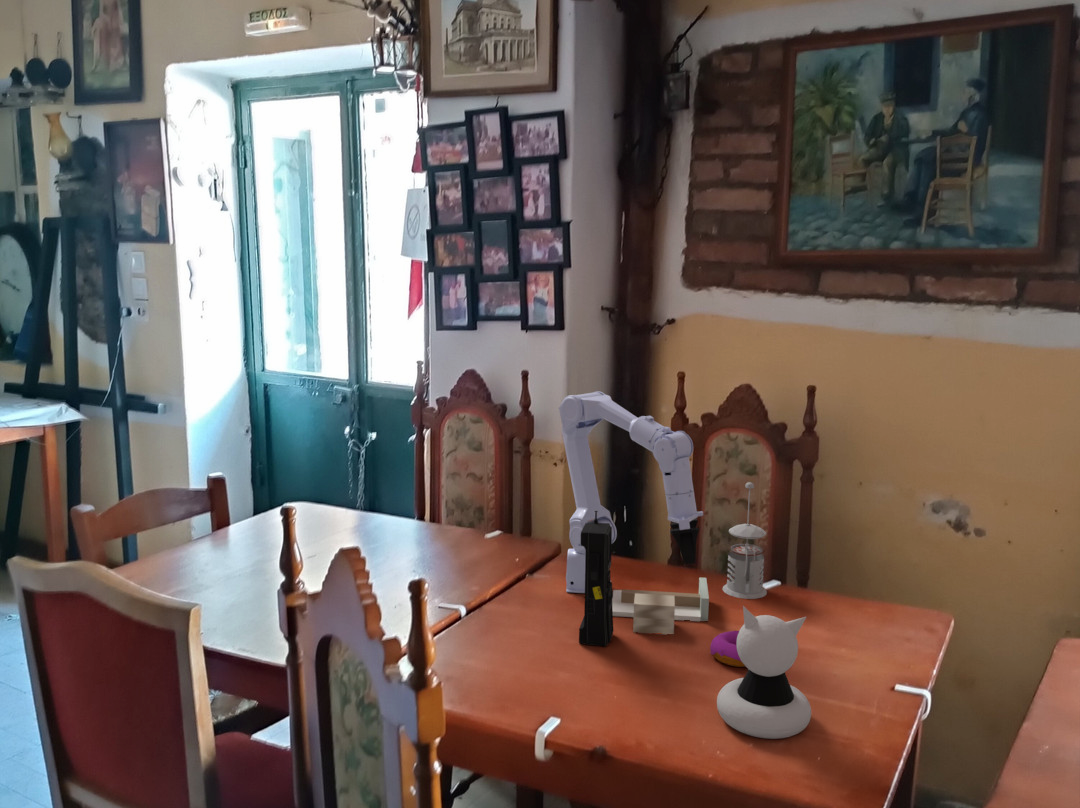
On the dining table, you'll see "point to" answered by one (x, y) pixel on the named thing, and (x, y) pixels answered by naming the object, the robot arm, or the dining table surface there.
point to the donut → (726, 649)
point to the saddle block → (654, 613)
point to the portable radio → (597, 584)
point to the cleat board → (630, 609)
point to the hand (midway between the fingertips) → (689, 559)
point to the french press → (746, 562)
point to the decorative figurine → (765, 681)
